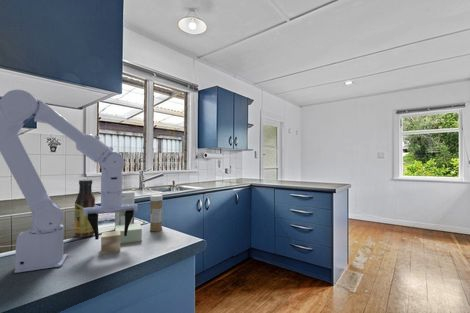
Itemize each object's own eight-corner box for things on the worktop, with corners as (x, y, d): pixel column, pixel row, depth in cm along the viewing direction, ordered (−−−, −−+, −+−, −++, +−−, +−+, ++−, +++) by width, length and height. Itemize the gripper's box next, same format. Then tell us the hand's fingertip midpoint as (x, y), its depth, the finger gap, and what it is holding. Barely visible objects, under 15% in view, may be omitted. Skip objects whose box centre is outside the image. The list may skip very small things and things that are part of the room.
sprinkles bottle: (151, 228, 98) (151, 194, 98) (163, 228, 98) (163, 194, 98) (148, 231, 93) (148, 196, 93) (161, 231, 94) (161, 195, 94)
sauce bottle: (73, 234, 89) (74, 179, 89) (93, 231, 93) (94, 178, 93) (75, 239, 84) (75, 180, 84) (96, 236, 88) (96, 179, 88)
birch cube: (101, 254, 72) (101, 237, 72) (102, 248, 76) (102, 232, 76) (120, 251, 74) (120, 235, 74) (120, 246, 78) (120, 230, 78)
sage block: (115, 244, 80) (115, 231, 80) (115, 236, 87) (115, 225, 87) (141, 240, 83) (141, 228, 83) (139, 234, 91) (140, 223, 91)
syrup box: (129, 225, 103) (130, 189, 103) (134, 228, 98) (134, 191, 98) (114, 227, 99) (115, 190, 99) (118, 230, 94) (119, 192, 94)
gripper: (81, 195, 68) (81, 244, 68) (138, 192, 74) (138, 237, 74) (85, 191, 75) (84, 237, 75) (136, 189, 81) (136, 231, 81)
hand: (111, 236), depth 75 cm, fingers open, 7 cm apart
